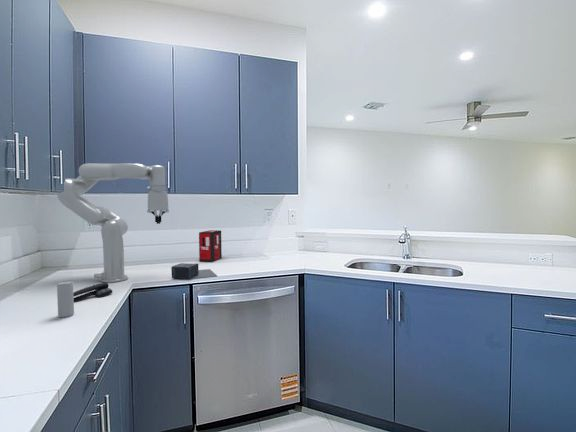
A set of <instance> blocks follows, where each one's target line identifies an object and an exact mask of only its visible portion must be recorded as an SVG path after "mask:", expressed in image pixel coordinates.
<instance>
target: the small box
mask: <svg viewBox="0 0 576 432" xmlns="http://www.w3.org/2000/svg"><path fill="white" fill-rule="evenodd" d="M199 270H200V269H199V263H183V262H182V263H178V264H175V265H172V266H171V278H172V279H182V278H189V279H188V280H191V279H190V278H192V277H194V276H196V275H198V274H199Z"/></svg>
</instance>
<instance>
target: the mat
mask: <svg viewBox="0 0 576 432" xmlns="http://www.w3.org/2000/svg"><path fill="white" fill-rule="evenodd" d="M198 270H199V274H198V275H196V276H194V277H192V278H190V279H189V278H181V279H182V281H184V280H185V281H186V280H195V279H204V278H205V279H207V278H216V277H218V275H217V274H216V273H215V272H214V271H213V270H211V268H209V269H207V268H206V269H198Z"/></svg>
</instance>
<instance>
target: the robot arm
mask: <svg viewBox="0 0 576 432" xmlns="http://www.w3.org/2000/svg"><path fill="white" fill-rule="evenodd" d="M165 169H166V168H165V166H163V165H159V164H154V165H150V166H148V165H144V164H142V163H125V162H124V163H98V162H97V163H94V162H93V163H90V162H89V163H88V162H87V163H83V164H81V165H80V166H79V168H78V176H77V177H76V178H68V177H67V178H64V179H65V182H64V192H61V193H56V196H57V199H58V200H59V202H60V203H61V204H62V205H63V206H64V207H65V208H66V209H68V210H69V211H71V212H73V213H74V214H76V216H79V218H81V219H83V220H84V221H85V222H87V223H89V224H90V225H93V226H101V228H100V232H101V233H100V234H101V241H102V253H103V254H102V255H103V257H102V258H103V259H102V260H103V272H100V273H93V277H94V278H95V279H96V278H100V282H101V283H105V282H106V283H117V282H123V281H125V280H128V278H129V277H128V275H126V274H125V249H124V246H125V245H124V238H123V235H125V234H126V233H127V232H128V228H129V227H128V226H129V225H128V224H127V222H126V221H125V220H124V219H123V218H122V217H119V215H118V214H115V213H114V212H113V211H112V210H110V209H108V208H106V207H104V206H97V205H94V204H93V203H92V202H90V201H88V199H86V198H84V197H82V195H84V194H86V193H87V192H88V191H89V190H90V189H92V187H94V186H95V185H96V184H97V183H98V182H99V181H116V180H119V179H139V180H144V181H145V180H149V186H147V187H146V189H147V190H149V191H148V193H147V213H149V214H152V215H153V216H154V222H155V223H156V225H158V224H159V225H160V224H161V223H162V216H163V215H164V214H166V213H169V212H170V210H169V196H168V192H167V191H166V170H165ZM157 211H159V213H158V212H157Z"/></svg>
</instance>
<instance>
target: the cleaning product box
mask: <svg viewBox="0 0 576 432" xmlns="http://www.w3.org/2000/svg"><path fill="white" fill-rule="evenodd" d="M198 253H199V254H198V255H199V258H198V259H199V260H198V261H199V263H210V264H211V263H214V262H216V261H220V260H221V259H222V256H223V255H222V230H215V229H214V230H212V229H211V230H205V231H204V230H203V231H199V232H198Z"/></svg>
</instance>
